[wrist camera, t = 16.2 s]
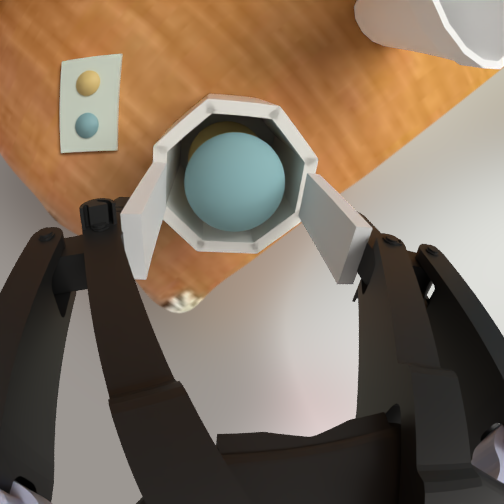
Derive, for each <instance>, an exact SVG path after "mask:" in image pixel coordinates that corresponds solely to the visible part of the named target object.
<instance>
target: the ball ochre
mask: <svg viewBox="0 0 504 504" xmlns="http://www.w3.org/2000/svg"><path fill="white" fill-rule="evenodd" d="M230 132H240V133H246V134H250V135H253V136H255V137H257V138H258V136H257V135H256V134H255V133H254V132H253V131H252V130H251V129H249V128H248V127H246V126H245V125H242V124H240V123H237V122H232V121H222V122H217V123H214V124H211V125H209V126H207V127H205V128H204V129H203V130H201V131H200V132H199V133H198V134H197V136H196V137H195V138H194V140H193V141H192V143H191V146H190V149H189V153H188V163H189V160H190V158H191V157H192V155H193V154H194V152H195V151H196V150H197V149H198V148H199V147H200V146H201V145H202V144H203V143H204V142H206V141H207V140H209V139H211V138H212V137H215V136H217V135H220V134H224V133H230Z"/></svg>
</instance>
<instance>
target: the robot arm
mask: <svg viewBox="0 0 504 504" xmlns="http://www.w3.org/2000/svg"><path fill="white" fill-rule="evenodd" d="M166 173H167V163H165V162H153V163H152V165H151V166H150V168H149V169H148V171H147V172H146V174H145V175H144V177H143V178H142V180H141V181H140V183H139V184H138V186H137V187H136V189H135V191H134V192H133V194H132V195H131V197H119V198H117V199H115V200H114V201H113V200H111V199H106V198H100V199H93V200H90V201H87V202H85V203H83V204H82V205H81V206H80V216H81V223H82V230H83V235H80V236H75V237H69V238H64V236H63V232H62V230H61V229H60V228H57V227H51V228H43V229H41V230H39V231H38V232H36V233H35V234H34V235H33V236H32V237H31V238H30V240H29V242H28V243H27V245H26V247H25V248H24V250H23V252H22V253H21V255H20V257H19V259H18V260H17V262H16V264H15V266H14V268H13V269H12V271H11V273H10V275H9V277H8V279H7V281H6V283H5V285H4V287H3V289H2V291H1V293H0V504H52V503H51V500H52V491H53V484H54V440H55V420H56V407H57V397H58V388H59V380H60V373H61V366H62V359H63V353H64V347H65V341H66V337H67V331H68V327H69V322H70V317H71V313H72V309H73V304H74V300H75V296H76V291H78V290H84V289H88V295H89V302H90V308H91V315H92V320H93V327H94V332H95V337H96V342H97V347H98V352H99V356H100V361H101V365H102V369H103V374H104V377H105V381H106V385H107V389H108V393H109V397H110V399H109V400H108V401H109V407H110V410H111V414H112V418H113V421H114V424H115V427H116V430H117V433H118V436H119V439H120V442H121V445H122V447H123V450H124V453H125V456H126V458H127V460H128V463H129V466H130V468H131V471H132V473H133V476H134V478H135V480H136V483H137V485H138V487H139V489H140V492H141V494H142V496H143V497H142V498H141V499H140V500H139V501H138V502H137V503H136V504H504V337H503V335H502V334H501V332H500V330H499V329H498V327H497V326H496V324H495V323H494V321H493V320H492V318H491V317H490V315H489V314H488V312H487V311H486V309H485V308H484V307H483V305H482V304H481V302H480V301H479V299H478V298H477V297H476V295H475V294H474V293H473V291H472V290H471V289H470V287H469V286H468V285H467V283H466V282H465V281H464V279H463V278H462V277H461V275H460V274H459V273H458V272H457V270H456V269H455V268H454V267H453V265H452V264H451V263H450V262H449V260H448V259H447V258H446V257H445V256H444V254H442V252H441V251H440V250H438V249H437V248H436V247H435V246H432V245H427V244H421V245H420V246H419V248H418V251H417V253H415V252H411V251H407V250H406V247H405V245H404V243H403V242H402V241H401V240H400V239H398V238H396V237H395V236H393V235H389V234H384V233H380V232H379V231H378V230H377V229H376V228H375V226H373V224H372V223H371V222H369V220H368V219H367V218H366V217H365V216H364V215H362V214H361V213H359V212H357V211H356V210H355V209H354V208H353V207H352V206H351V205H350V204H349V203H348V202H347V201H346V200H345V199H344V198H343V197H342V196H341V195H340V194H339V193H338V192H337V191H336V190H335V189H334V188H333V187H332V186H331V185H330V184H329V183H328V182H327V181H326V180H325V179H324V178H323V177H321V176H320V175H319V174H311V173H307V176H306V181H305V186H304V191H303V196H302V201H301V206H300V210H299V215H298V216H299V218H300V220H301V221H302V223H303V225H304V226H305V228H306V230H307V231H308V233H309V235H310V237H311V238H312V240H313V241H314V243H315V245H316V247H317V249H318V250H319V252H320V254H321V256H322V257H323V259H324V261H325V263H326V264H327V266H328V268H329V270H330V272H331V273H332V275H333V277H334V279H335V280H336V282H337V284H353V282H354V280H355V277H356V274H357V272H358V274H359V275H360V277H361V280H360V283H359V286H358V288H357V290H356V293H355V295H354V298H353V301H354V302H355V300H356V299H357V298H358V303H359V372H358V395H357V412H356V418H355V419H352V420H349V421H346V422H344V423H342V424H340V425H338V426H336V427H334V428H332V429H330V430H327V431H325V432H323V433H321V434H318V435H316V436H312V437H303V436H293V435H284V434H275V433H268V432H256V433H239V434H217V443H216V445H215V444H214V442H213V440H212V439H211V437H210V435H209V433H208V432H207V430H206V428H205V426H204V424H203V423H202V421H201V419H200V417H199V415H198V413H197V411H196V409H195V408H194V406H193V404H192V402H191V400H190V398H189V396H188V394H187V392H186V390H185V388H184V387H183V385H182V384H181V383H180V381H176V380H175V379H174V377H173V375H172V373H171V370H170V368H169V366H168V364H167V362H166V360H165V357H164V355H163V352H162V350H161V348H160V345H159V343H158V341H157V338H156V336H155V333H154V331H153V329H152V326H151V324H150V321H149V318H148V316H147V313H146V310H145V308H144V305H143V302H142V300H141V297H140V294H139V291H138V288H137V285H136V283H135V280H134V279H143V280H146V278H147V274H148V270H149V266H150V263H151V259H152V255H153V251H154V248H155V244H156V241H157V237H158V234H159V230H160V227H161V224H162V220H163V217H164V214H165V211H166ZM432 284H434V286H435V290H434V292H433V294H432V296H431V297H430V299H429V298H428V296H427V293H428V291H429V289H430V288H431V286H432ZM498 423H500V424H498Z"/></svg>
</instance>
